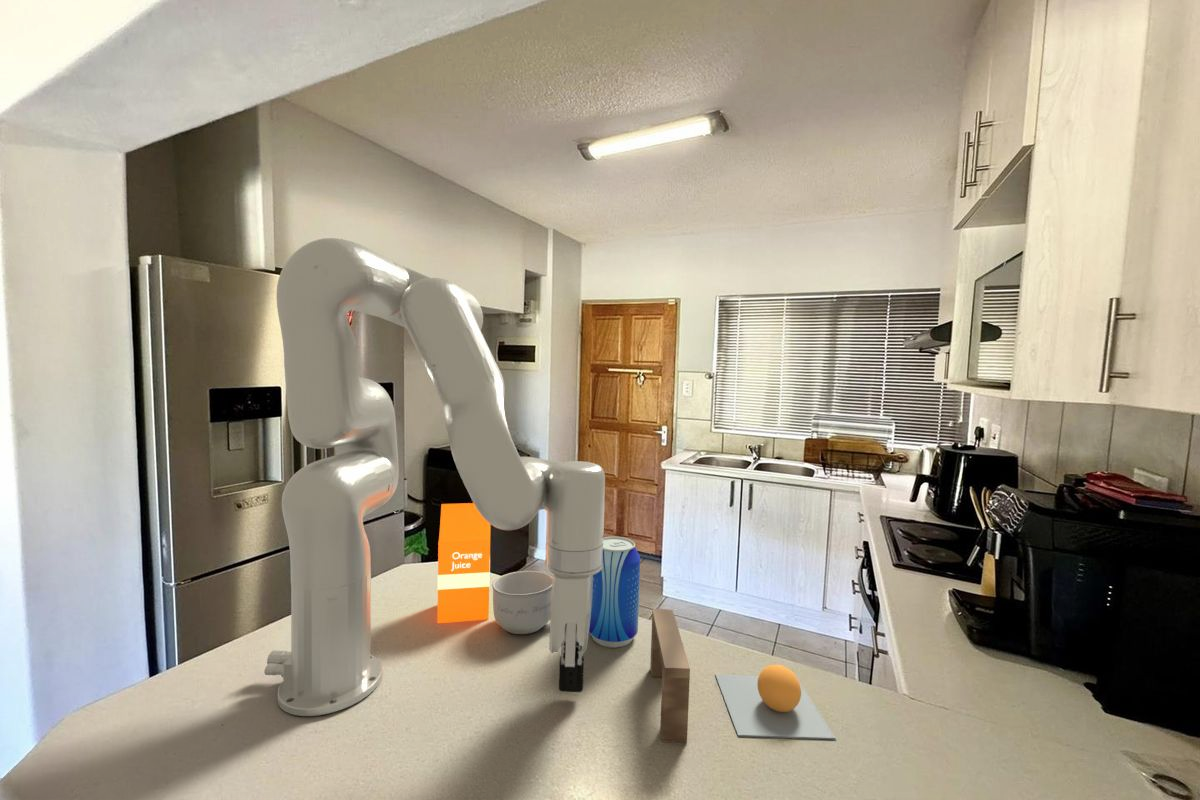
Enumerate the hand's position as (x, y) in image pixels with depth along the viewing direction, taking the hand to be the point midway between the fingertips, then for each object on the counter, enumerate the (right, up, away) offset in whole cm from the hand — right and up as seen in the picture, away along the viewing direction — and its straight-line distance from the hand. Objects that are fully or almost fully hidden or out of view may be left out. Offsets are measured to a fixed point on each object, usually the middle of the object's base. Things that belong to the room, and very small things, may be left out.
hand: (571, 687), depth 66 cm
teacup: (-8, -1, +19) cm, 21 cm away
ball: (+28, 0, -1) cm, 28 cm away
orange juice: (-21, 0, +23) cm, 31 cm away
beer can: (+6, -1, +16) cm, 17 cm away
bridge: (+13, -2, 0) cm, 13 cm away
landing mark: (+27, -2, 0) cm, 27 cm away
